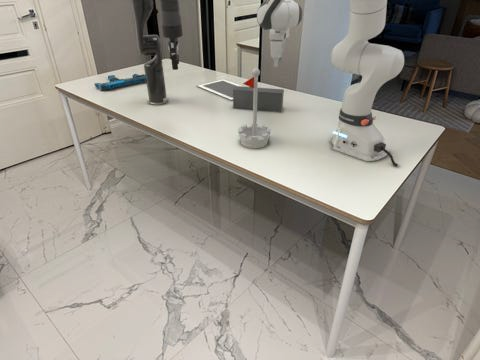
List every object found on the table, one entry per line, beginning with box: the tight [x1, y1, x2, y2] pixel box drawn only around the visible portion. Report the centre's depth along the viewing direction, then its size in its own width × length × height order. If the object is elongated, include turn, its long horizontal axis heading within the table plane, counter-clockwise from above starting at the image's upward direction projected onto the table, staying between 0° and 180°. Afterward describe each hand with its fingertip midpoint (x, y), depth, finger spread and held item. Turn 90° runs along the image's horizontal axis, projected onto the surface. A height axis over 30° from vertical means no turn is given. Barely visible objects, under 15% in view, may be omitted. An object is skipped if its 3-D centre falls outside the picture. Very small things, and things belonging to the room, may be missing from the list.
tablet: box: [197, 78, 245, 101], centre depth 197 cm, size 32×20×1 cm, turn 41°
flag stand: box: [238, 67, 272, 149], centre depth 132 cm, size 13×13×30 cm
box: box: [232, 85, 285, 113], centre depth 170 cm, size 24×6×10 cm, turn 77°
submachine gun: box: [94, 73, 146, 91], centre depth 208 cm, size 34×4×25 cm
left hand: (175, 66), depth 138 cm, fingers open, 8 cm apart
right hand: (277, 64), depth 159 cm, fingers open, 8 cm apart
